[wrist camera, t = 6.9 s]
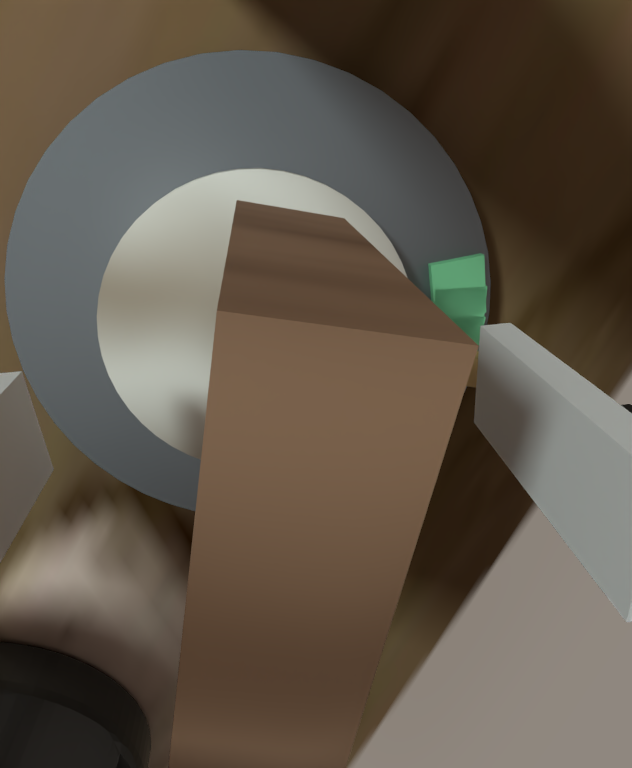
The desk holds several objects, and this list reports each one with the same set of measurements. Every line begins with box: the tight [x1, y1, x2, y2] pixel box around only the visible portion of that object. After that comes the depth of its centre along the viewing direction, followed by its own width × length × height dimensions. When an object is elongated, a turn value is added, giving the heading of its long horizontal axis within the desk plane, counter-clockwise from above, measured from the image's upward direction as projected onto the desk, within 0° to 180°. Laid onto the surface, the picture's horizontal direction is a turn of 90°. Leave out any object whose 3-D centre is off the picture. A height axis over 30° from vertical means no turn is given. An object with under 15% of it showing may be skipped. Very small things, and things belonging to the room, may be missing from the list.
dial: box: [97, 168, 479, 768], centre depth 13 cm, size 10×12×13 cm
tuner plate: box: [5, 50, 491, 511], centre depth 19 cm, size 16×16×2 cm
